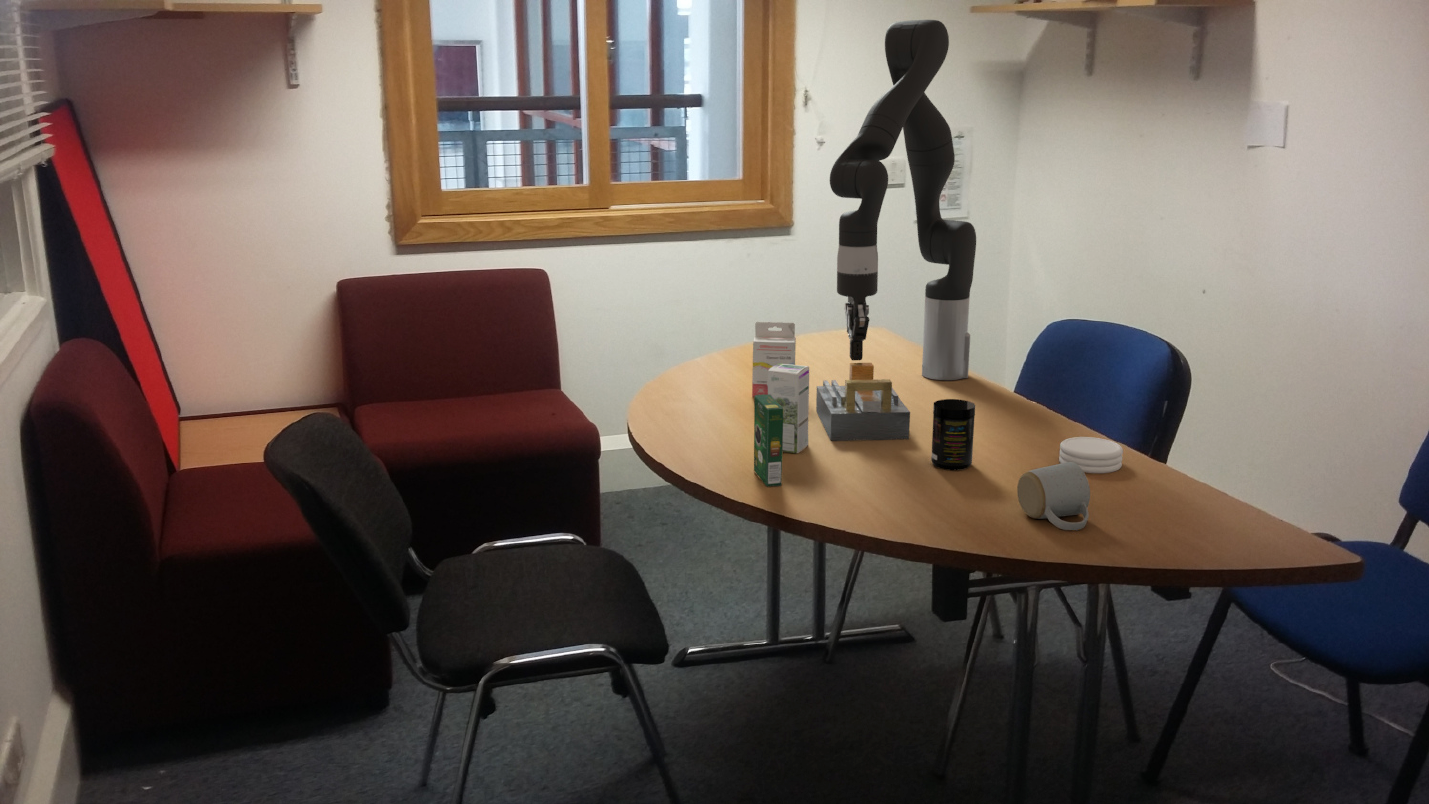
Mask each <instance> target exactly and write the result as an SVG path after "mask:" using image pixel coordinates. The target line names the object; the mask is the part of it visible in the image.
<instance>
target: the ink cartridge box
mask: <svg viewBox="0 0 1429 804" xmlns="http://www.w3.org/2000/svg"><path fill="white" fill-rule="evenodd" d="M774 327H775V328H778V329H781V330H769V329H771V328H774ZM754 329H755V330H754V331H755V336H754V337H753V343H752V376H751V377H752V380H751V382H752V383H751V384H752V385H751V386H752V389H751V391H752V393H751V397H752V398H754V396H755V395H768V370H769V369H770V368H772V367H773V366H774V365H776V364H779V363H781V364H791V365H796V346H797V345H796V344H797V343H796V342H797V338H796V336H795V334H796V333H795V331H796V324H795V323H794V322H782V321H781V322H780V321H779V322H778V321H777V322H776V321H774V322H773V321H757V322H755V326H754Z"/></svg>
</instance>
